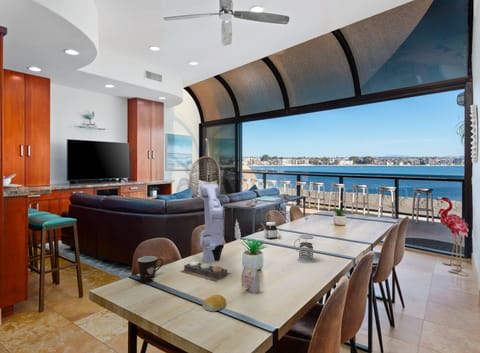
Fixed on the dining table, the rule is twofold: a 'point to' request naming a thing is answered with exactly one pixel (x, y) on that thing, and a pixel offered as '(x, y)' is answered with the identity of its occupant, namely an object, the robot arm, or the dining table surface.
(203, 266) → the sage button
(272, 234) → the spread jar
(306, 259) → the french press
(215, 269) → the terracotta button
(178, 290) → the dining table surface
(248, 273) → the tea bag
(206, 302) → the bread roll
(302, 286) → the dining table surface
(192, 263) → the cream button
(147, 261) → the coffee mug
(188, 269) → the button panel
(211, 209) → the robot arm
